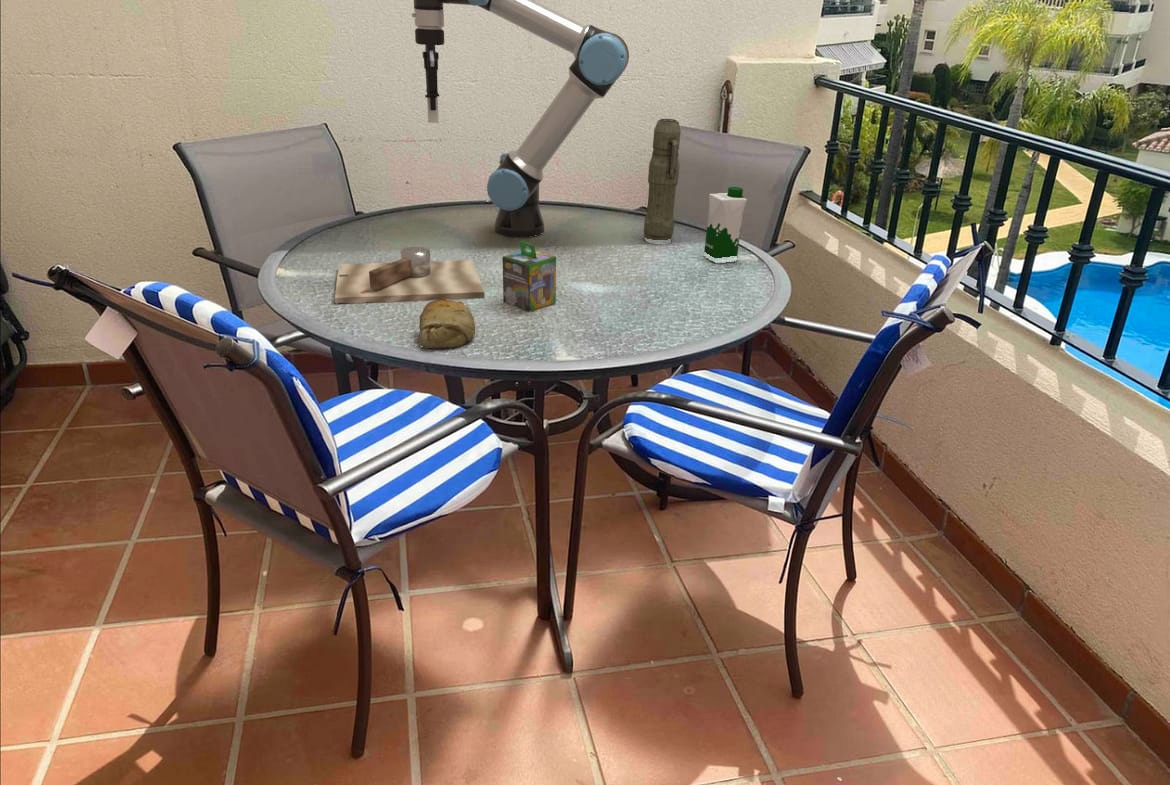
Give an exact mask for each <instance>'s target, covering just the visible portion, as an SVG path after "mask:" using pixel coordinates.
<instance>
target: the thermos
mask: <svg viewBox="0 0 1170 785" xmlns="http://www.w3.org/2000/svg"><path fill="white" fill-rule="evenodd" d="M681 133H682V132H681V126H680V121H677V120H676V119H675V118H674V119H673V118H660V120H657V122H656V124H655V127H654V130H653V138H652V140H653V141H652V148H653V149H652V153H651V154H652V155H651V158H650V161H649V165H648V177H647V182H648V195H647V196H648V197H647V208H646V209H647V210H646V215H645V217H644V225H643V236H644V237H645V238H647V239H652V240H668V239H671V238H672V239H673V236H674V228H675V216H674V210H675V200H676V191H677V190H676V189H677V185H678V183H679V177H680V176H679V174H680V164H681V163H680V160H679V149H680V142H681V141H680V140H681ZM644 237H643V238H644Z"/></svg>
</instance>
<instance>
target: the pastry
mask: <svg viewBox="0 0 1170 785" xmlns="http://www.w3.org/2000/svg"><path fill="white" fill-rule="evenodd" d="M418 327H419V332H420V335H419V340H418V342H419V343H418V344H419V346H420V345H421V346H423V347H428V348H427V349H443V348H445V349H447V348H458V347H461V345H462V346H464V345H465V344H464V343H466V344H467V343H469V342H470V341H471V340H473V339H474V336H475V334H476V323H475V318H474V315H473V313H472V312H471V310H470V308H469V307H468V306H467V305H465V304H464V303H463V302H462V301H455V300H453V299H447V300H445V299H440V300H431V301H430V302H428V303H426V305H425V306H424V308H423V310H422V311H421V313H420V315H419V326H418ZM463 344H464V345H463ZM457 346H458V347H457ZM423 347H422V348H423Z"/></svg>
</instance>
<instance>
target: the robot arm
mask: <svg viewBox="0 0 1170 785" xmlns="http://www.w3.org/2000/svg"><path fill="white" fill-rule="evenodd" d="M444 4H446V5H450V4H452V5H453V4H454V5H465V6H467V5H468V6H473V7H475V6H476V7H479V8H481V9H483V10H485V11H487V12H490V13H491V14H494V15H496V16H498V17H500V18H502V19H504V20H506V21H507V22H509V23H511V24H513V25H515V26H518V27H520V28H521V29H523V30H525V31H528V32H529V33H531V34H533V35H535V36H537V37H540V38H541V39H543V40H545V41H547V42H549V43H551V44H553V45H555V46H557V47H559V48H561V49H563V50H565V51H567V52H569V53H571V54H573V58H574V60H573V61H572V63H571V64H570V65H569V67H568V73H569V77H568V79H567V80H566V82H565V83H564V85H563V86H562V88H560V90H559V91H558V93H557V94H556V96H555V97H554V99H553V100H552V102H551V103H550V104H549V106H548V107H547V108H546V109H545V111H544V112H543V114H542V115H541V117H540V118H539V120H538V121H537V122H536V123H535V125H534V126H533V128H532V129H531V131H530V132H529V134H528V135H527V136H526V138H525V139H524V140H523V142H522V143H521V144H520V146H519V147H518V149H517V150H516V149H515V150H510V151H509V152H507V153H505V152H503V153H501V154H500V156H499V158H500V159H499V165H498V167H497V168H496V170H494V171H493V172H492V173H491V174H490V176H489V177H488V180H487V184H486V192H487V195H488V198H489V200H490V202H492V204H493V205H494V206H495V207H496V208H499V209H498V212H497V215H496V218H495V221H494V232H495V233H496V234H498V235H501V236H505V237H510V238H530V237H529V236H534V237H536V236H535V235H538V236H540V235H539V234H541V233H543V232H544V233H545V223H544V219H543V216H542V215H543V214H542V213H541V209H540V183H541V182H542V180H543V179H544V174H543V170H544V168H546V166H547V164H548V163H549V162H550V160H551V159H552V157H553V156H554V155H555V154H556V152H557V151H558V150H559V149H560V147H561V145H562V144H563V143H564V141H565V140H566V139H567V137H569V135H570V133H571V132H572V131H573V130H574V129H575V126H576V125H577V124H578V122H579V121H580V120H581V119H582V118H583V116H584V115H585V113H586V112H587V110H588V109H589V108H590V107H591V105H592V104H593V102H594V101H595V100H596V99H603V98H604V97H605V96H606V95H607V94H608V92H609V90H611V88H612V87H613V85H614V84H615V83H616V81H617V80H618V79H619V78H620V77H621V76H622V75H623V73H624V72H625V70H626V68H627V66H628V63H629V61H630V60H629V58H630V53H629V48H628V45H627V43H626V42H625V40H624V39H623V37H621V36H620V35H618V34H616V33H613V32H609V31H606V30H603V29H601V28H598V27H596V26H594V25H593V24H586V25H583V24H581V23H579V22H578V21H575V20H574V19H572V18H569V17H567V16H565V15H563V14H562V13H559V12H558V11H556V10H554V9H552V8H549V7H547V6H546V5H544V4H541V3H539V2H537V1H535V0H413V9H414V11H413V12H414V13H413V12H412V14H411V17H412V18H414V26H415V27H417V28H415V30H414V32H415V33H414V37H415V39H414V40H415V44H417V45H420V46H422V45H423V46H424V45H425V46H424V47H425V48H424V49H425V50H424V51H422V59H423V69H424V70H425V84H426V90H425V91H426V94H424V95H425V96H424V97H425V98H426V100H427V101H426V103H427V104H426V105H427V121H428V122H427V123H428V124H432V123H433V124H434V123H435V124H438V123H439V105H438V104H439V98H440V93H439V90H438V89H439V88H438V86H439V84H438V70H439V59H440V57H439V55H440V54H439V52H438V51H437V50H436V46H443V45H445V31H444V29H443V28H444V27H445V17H444V16H445V13H444ZM438 97H439V98H438ZM544 233H543V234H544ZM541 235H542V234H541Z"/></svg>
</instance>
